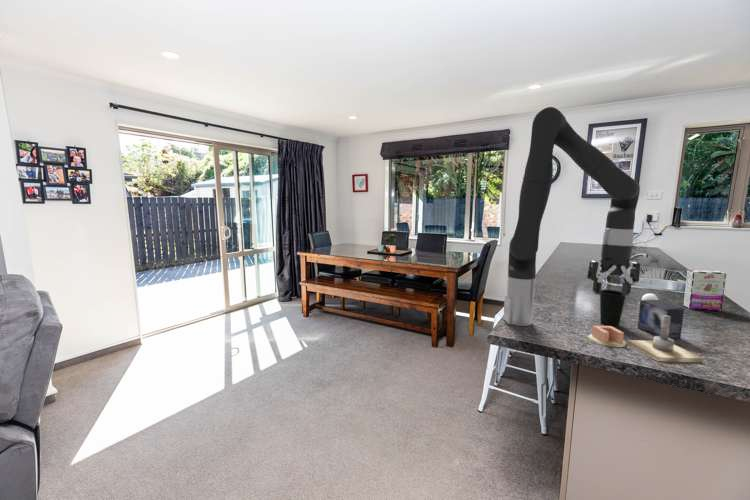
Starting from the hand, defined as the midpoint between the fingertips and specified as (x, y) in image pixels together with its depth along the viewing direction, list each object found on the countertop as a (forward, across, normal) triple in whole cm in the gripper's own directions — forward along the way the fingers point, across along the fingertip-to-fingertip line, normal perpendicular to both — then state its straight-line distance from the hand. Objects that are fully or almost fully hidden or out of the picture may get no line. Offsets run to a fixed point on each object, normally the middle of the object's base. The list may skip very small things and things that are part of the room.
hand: (610, 294), depth 105 cm
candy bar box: (+15, -63, -39) cm, 76 cm away
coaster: (+15, -1, 0) cm, 16 cm away
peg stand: (+15, -12, +8) cm, 21 cm away
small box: (+15, -23, -8) cm, 29 cm away
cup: (+16, -12, -16) cm, 25 cm away
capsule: (+15, -36, -31) cm, 50 cm away
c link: (+15, -1, 0) cm, 15 cm away
